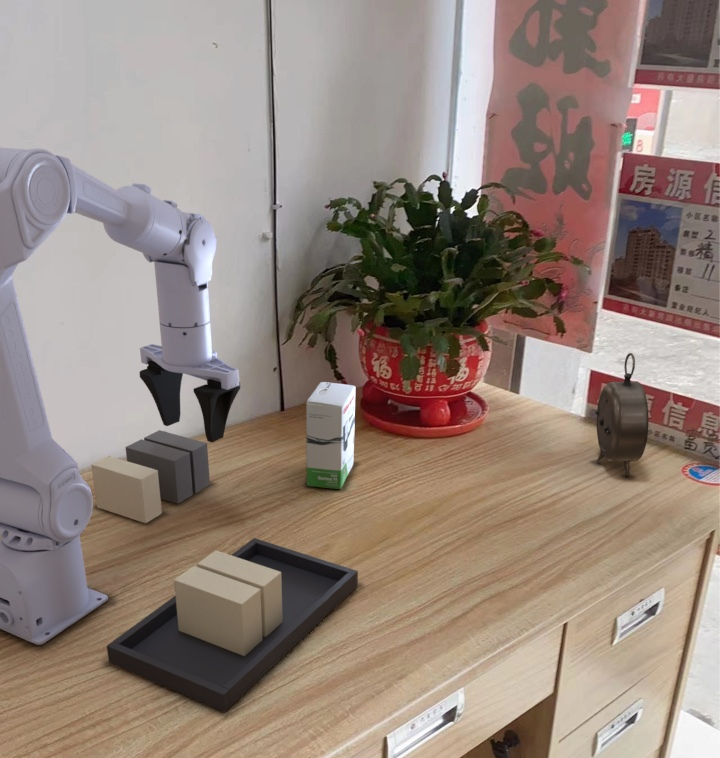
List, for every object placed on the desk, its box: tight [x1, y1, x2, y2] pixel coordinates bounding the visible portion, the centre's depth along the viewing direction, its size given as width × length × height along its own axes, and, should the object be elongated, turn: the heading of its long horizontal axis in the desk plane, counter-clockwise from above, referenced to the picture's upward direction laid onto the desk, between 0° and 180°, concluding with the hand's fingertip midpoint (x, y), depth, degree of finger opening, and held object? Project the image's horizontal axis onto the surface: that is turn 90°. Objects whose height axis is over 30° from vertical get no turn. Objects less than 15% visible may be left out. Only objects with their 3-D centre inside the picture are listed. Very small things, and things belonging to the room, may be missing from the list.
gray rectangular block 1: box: [125, 438, 194, 505], centre depth 113 cm, size 3×8×6 cm, turn 61°
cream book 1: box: [173, 565, 262, 656], centre depth 85 cm, size 3×8×6 cm, turn 61°
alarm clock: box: [594, 352, 649, 478], centre depth 121 cm, size 11×5×16 cm, turn 179°
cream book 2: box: [197, 550, 283, 637], centre depth 88 cm, size 3×8×6 cm, turn 60°
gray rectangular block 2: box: [143, 429, 211, 494], centre depth 116 cm, size 3×8×6 cm, turn 61°
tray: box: [106, 537, 359, 713], centre depth 89 cm, size 24×14×2 cm, turn 151°
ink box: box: [305, 381, 356, 490], centre depth 117 cm, size 9×5×12 cm, turn 168°
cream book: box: [90, 455, 163, 524], centre depth 108 cm, size 3×8×6 cm, turn 61°
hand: (193, 431), depth 107 cm, fingers open, 7 cm apart
